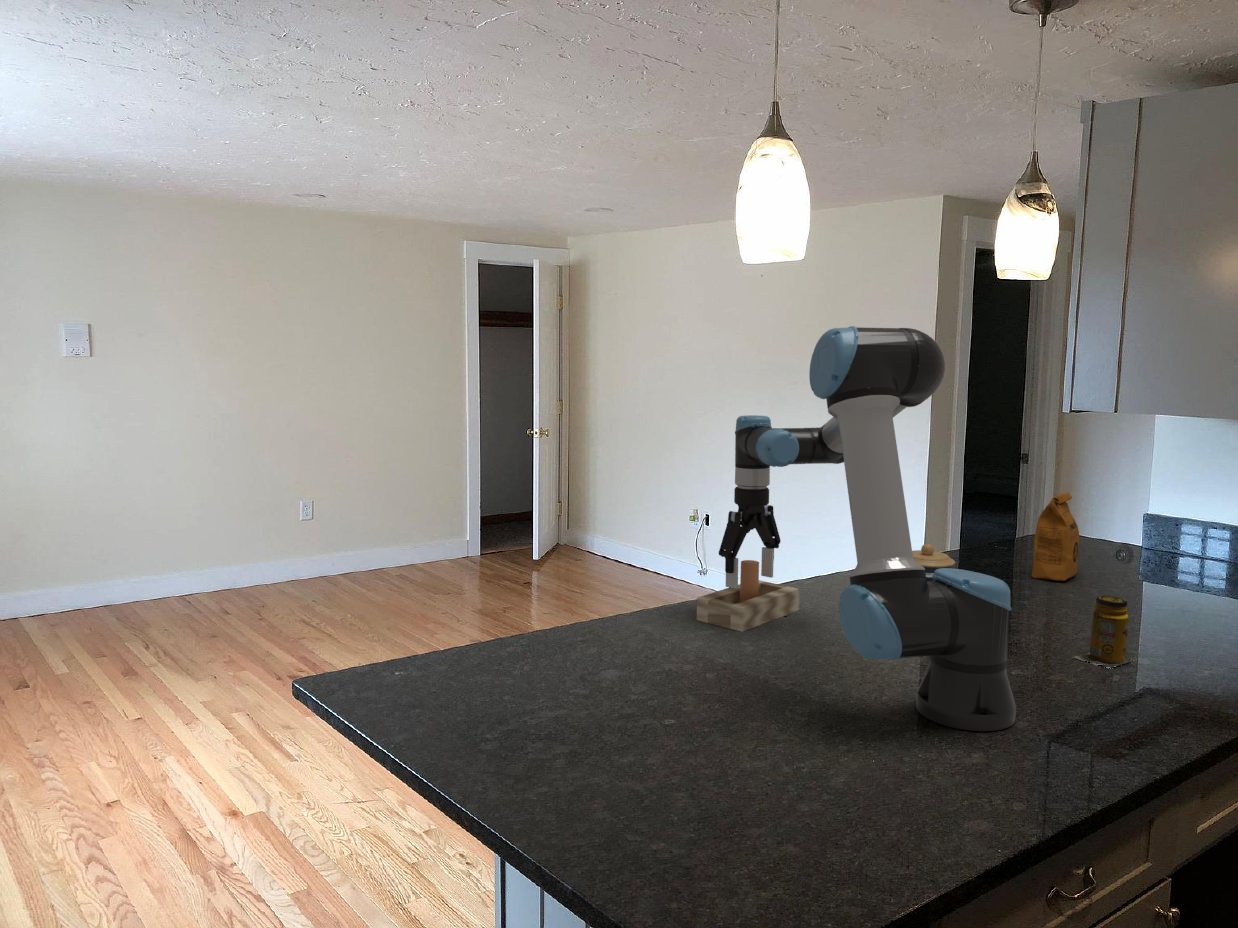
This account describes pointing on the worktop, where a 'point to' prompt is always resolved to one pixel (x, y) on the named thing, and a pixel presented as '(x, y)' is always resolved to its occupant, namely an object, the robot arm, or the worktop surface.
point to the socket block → (747, 606)
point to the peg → (749, 580)
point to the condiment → (1108, 631)
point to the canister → (932, 560)
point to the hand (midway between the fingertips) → (749, 581)
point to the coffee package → (1056, 541)
